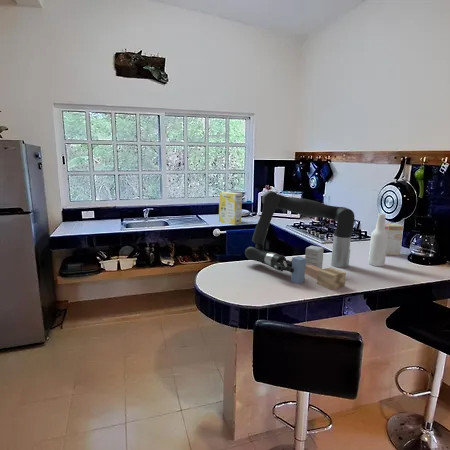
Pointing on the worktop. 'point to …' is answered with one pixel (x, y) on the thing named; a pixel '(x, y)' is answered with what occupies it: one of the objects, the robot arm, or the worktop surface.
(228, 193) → the pasta box
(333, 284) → the oak base block
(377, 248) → the alcohol
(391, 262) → the worktop surface
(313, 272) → the terracotta block
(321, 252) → the grey upright block
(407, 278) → the worktop surface
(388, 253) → the coffeecake box
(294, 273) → the blue post block
